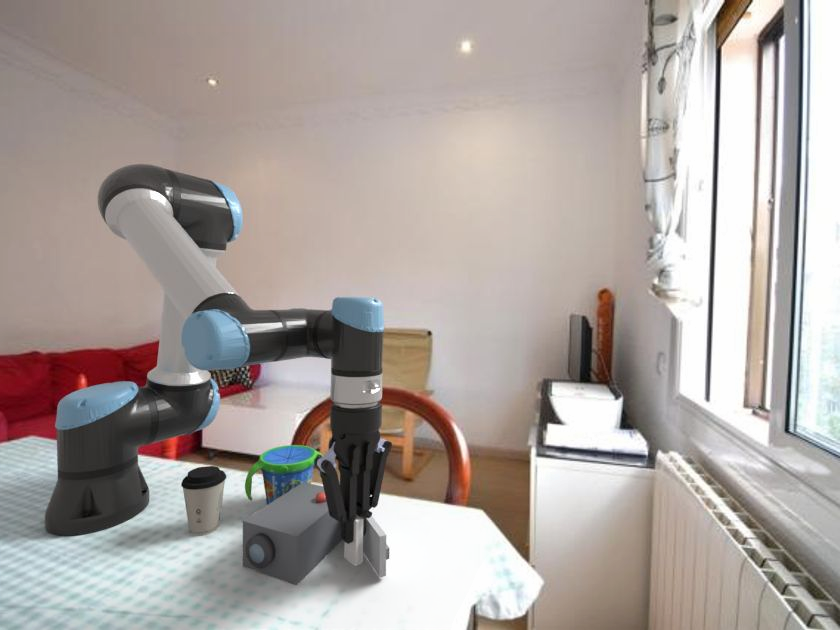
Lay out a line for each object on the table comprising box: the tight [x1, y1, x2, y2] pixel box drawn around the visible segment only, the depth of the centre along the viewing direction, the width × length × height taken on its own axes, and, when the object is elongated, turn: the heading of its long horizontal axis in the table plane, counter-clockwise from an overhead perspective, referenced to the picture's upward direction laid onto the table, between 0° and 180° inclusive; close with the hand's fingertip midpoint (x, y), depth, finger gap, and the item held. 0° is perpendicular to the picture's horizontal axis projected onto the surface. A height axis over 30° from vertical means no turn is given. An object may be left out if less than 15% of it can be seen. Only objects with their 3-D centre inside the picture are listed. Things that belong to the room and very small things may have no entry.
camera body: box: [242, 482, 343, 586], centre depth 64 cm, size 10×15×8 cm, turn 158°
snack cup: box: [244, 444, 324, 506], centre depth 78 cm, size 16×10×10 cm
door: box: [363, 516, 390, 579], centre depth 63 cm, size 2×13×6 cm, turn 28°
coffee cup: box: [180, 465, 227, 537], centre depth 70 cm, size 7×7×10 cm
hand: (353, 559), depth 59 cm, fingers closed
